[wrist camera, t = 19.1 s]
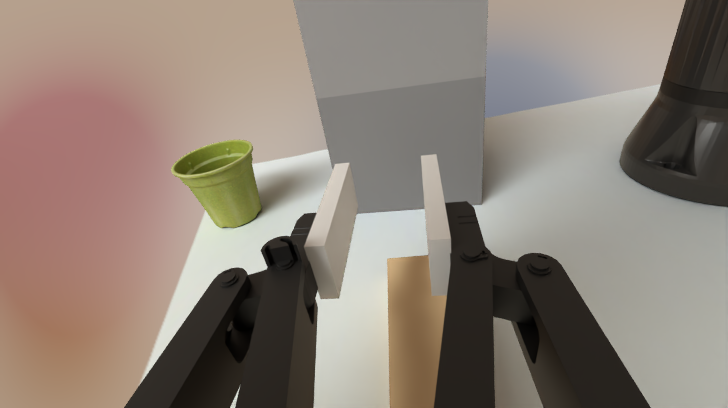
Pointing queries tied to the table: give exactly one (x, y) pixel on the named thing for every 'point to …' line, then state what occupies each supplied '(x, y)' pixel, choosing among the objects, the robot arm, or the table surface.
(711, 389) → the table surface
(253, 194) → the plant pot
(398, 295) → the oak slat
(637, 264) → the table surface
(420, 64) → the grey box
